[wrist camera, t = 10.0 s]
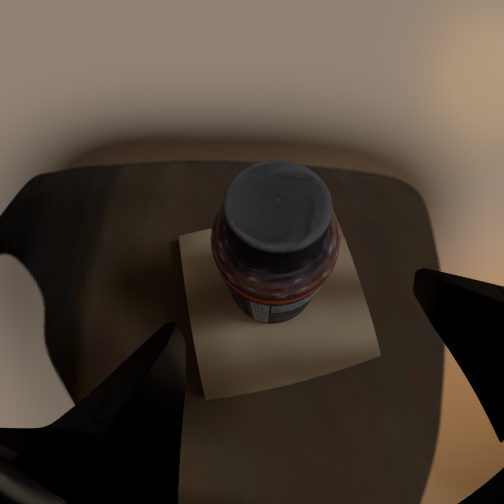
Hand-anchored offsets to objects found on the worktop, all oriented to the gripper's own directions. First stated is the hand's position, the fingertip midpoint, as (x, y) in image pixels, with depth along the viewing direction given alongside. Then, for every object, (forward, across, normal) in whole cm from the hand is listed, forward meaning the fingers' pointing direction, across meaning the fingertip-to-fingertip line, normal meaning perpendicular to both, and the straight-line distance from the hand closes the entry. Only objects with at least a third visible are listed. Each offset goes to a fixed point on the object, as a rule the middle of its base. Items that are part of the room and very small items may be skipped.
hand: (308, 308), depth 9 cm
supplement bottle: (+10, 0, +5) cm, 11 cm away
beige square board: (+10, 0, +6) cm, 12 cm away
